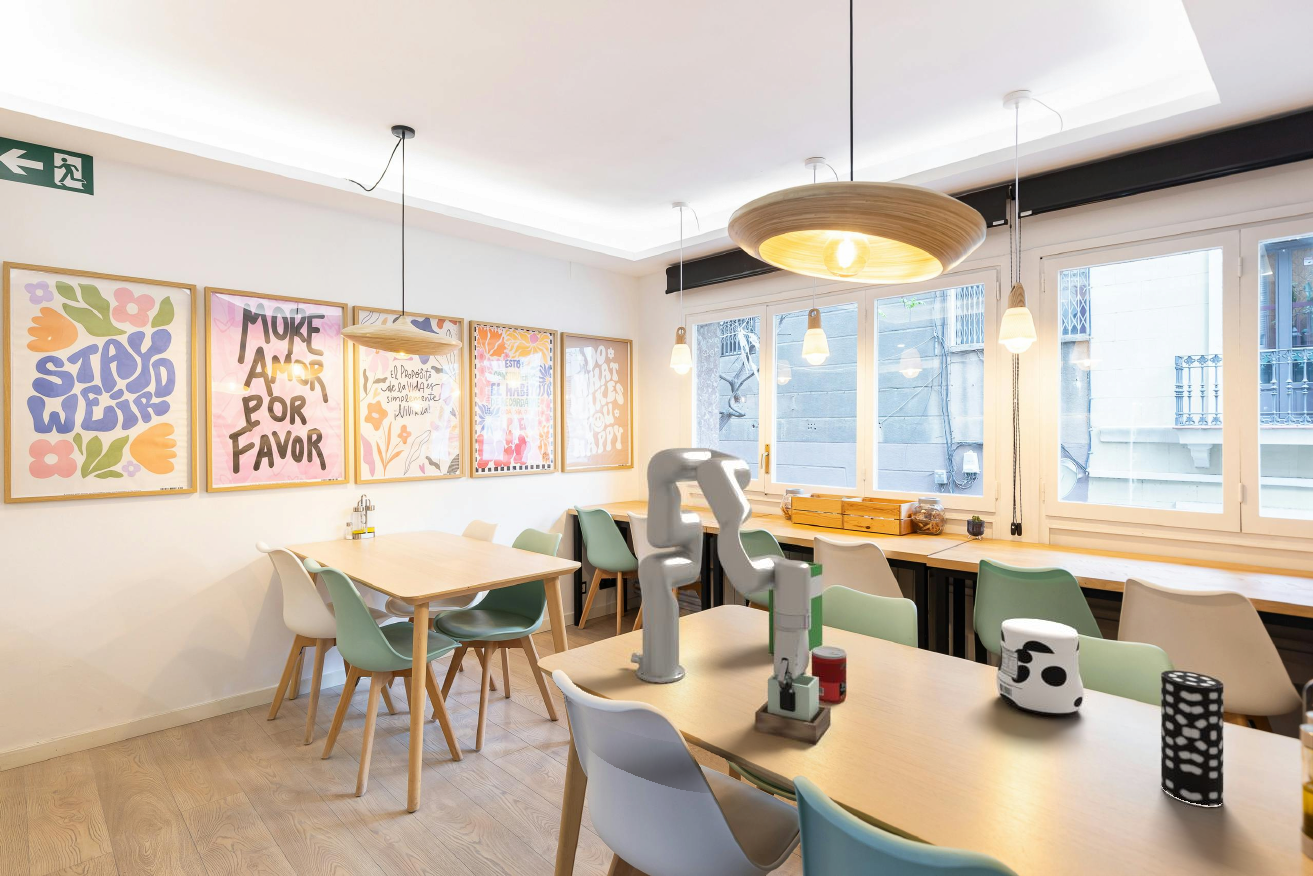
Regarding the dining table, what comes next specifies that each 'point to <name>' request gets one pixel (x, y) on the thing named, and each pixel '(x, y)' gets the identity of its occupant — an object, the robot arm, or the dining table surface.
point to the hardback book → (816, 610)
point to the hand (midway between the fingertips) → (793, 703)
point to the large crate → (793, 725)
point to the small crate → (796, 697)
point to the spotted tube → (1192, 737)
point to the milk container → (1040, 667)
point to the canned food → (830, 673)
